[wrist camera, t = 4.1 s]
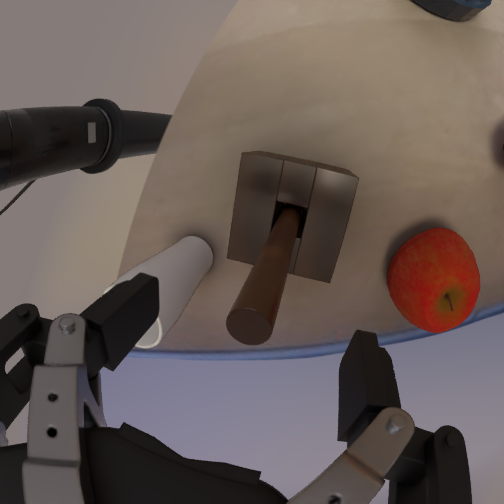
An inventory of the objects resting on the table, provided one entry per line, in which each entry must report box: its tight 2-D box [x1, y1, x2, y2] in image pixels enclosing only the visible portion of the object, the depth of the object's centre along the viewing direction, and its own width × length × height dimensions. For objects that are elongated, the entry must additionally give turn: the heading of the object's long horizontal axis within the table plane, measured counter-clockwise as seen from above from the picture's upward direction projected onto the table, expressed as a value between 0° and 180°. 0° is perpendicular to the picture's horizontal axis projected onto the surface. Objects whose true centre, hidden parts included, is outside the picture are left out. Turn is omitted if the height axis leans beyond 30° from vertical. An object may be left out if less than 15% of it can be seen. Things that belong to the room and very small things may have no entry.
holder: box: [227, 151, 359, 283], centre depth 27 cm, size 10×10×7 cm
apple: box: [387, 228, 480, 333], centre depth 24 cm, size 11×11×11 cm
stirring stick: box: [226, 203, 303, 345], centre depth 20 cm, size 2×2×22 cm
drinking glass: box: [103, 236, 213, 348], centre depth 28 cm, size 7×7×15 cm
